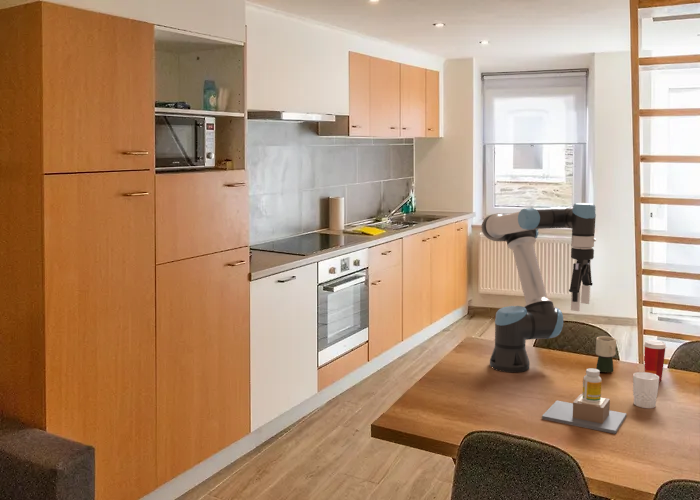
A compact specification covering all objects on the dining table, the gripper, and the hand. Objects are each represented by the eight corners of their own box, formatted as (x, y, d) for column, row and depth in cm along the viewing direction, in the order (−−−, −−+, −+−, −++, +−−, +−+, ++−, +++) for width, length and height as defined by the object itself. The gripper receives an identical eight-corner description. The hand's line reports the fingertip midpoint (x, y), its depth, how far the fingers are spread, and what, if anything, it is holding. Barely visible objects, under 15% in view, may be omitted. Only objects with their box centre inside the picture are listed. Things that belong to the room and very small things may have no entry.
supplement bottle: (578, 398, 213) (579, 368, 212) (591, 395, 216) (592, 366, 214) (591, 403, 209) (592, 373, 207) (604, 401, 211) (605, 371, 210)
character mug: (620, 375, 254) (622, 342, 253) (602, 376, 254) (604, 342, 252) (606, 367, 265) (608, 334, 263) (589, 367, 264) (590, 335, 263)
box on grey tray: (541, 418, 213) (542, 399, 213) (556, 403, 227) (557, 385, 226) (615, 433, 202) (616, 413, 201) (626, 416, 215) (627, 397, 214)
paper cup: (660, 376, 254) (662, 339, 252) (667, 383, 246) (669, 345, 244) (638, 375, 254) (640, 339, 252) (645, 382, 247) (647, 345, 245)
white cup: (627, 400, 229) (628, 372, 227) (649, 400, 229) (651, 371, 228) (639, 409, 221) (640, 379, 219) (662, 408, 221) (664, 379, 220)
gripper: (584, 252, 225) (582, 315, 228) (602, 244, 246) (599, 301, 249) (561, 251, 229) (559, 312, 232) (580, 242, 250) (578, 299, 253)
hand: (580, 307), depth 241 cm, fingers open, 13 cm apart
